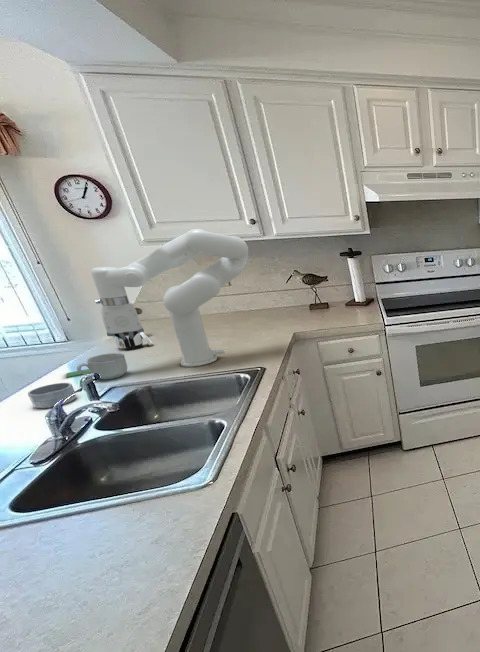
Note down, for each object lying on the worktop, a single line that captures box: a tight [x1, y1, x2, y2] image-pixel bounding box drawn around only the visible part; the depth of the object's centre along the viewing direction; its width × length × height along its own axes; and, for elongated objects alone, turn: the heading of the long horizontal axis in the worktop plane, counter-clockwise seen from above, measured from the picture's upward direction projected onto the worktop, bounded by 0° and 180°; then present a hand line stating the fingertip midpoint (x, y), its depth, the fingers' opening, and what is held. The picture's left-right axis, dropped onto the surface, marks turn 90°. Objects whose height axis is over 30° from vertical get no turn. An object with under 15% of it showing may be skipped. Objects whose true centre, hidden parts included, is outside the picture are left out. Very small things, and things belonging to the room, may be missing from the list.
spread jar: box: [113, 331, 154, 351], centre depth 189 cm, size 12×11×12 cm
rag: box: [65, 368, 91, 379], centre depth 160 cm, size 7×5×1 cm
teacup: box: [76, 352, 128, 380], centre depth 155 cm, size 14×11×8 cm
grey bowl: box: [27, 382, 77, 409], centre depth 136 cm, size 10×10×5 cm
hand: (131, 348), depth 159 cm, fingers closed
